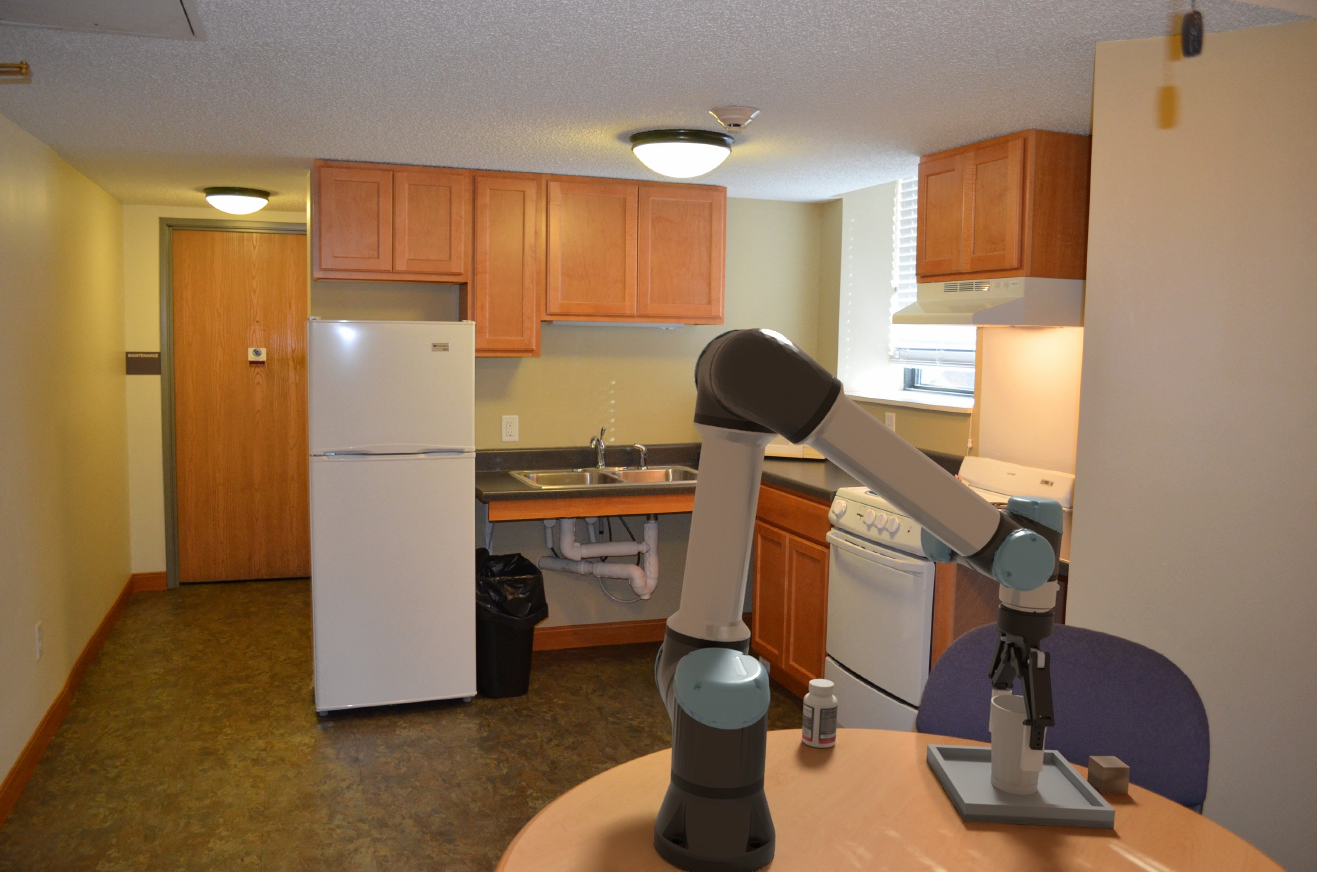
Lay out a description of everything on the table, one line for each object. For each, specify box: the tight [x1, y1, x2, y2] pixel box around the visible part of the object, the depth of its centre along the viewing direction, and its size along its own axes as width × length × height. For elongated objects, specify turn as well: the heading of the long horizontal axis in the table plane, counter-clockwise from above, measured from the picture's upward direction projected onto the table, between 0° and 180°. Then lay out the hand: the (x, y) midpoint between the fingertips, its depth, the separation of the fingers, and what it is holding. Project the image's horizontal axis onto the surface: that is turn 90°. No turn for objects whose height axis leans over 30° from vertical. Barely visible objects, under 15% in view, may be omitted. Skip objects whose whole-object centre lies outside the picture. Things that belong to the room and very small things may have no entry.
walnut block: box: [1086, 755, 1131, 794], centre depth 143 cm, size 4×4×4 cm
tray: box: [925, 743, 1116, 829], centre depth 140 cm, size 20×20×2 cm
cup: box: [990, 694, 1048, 795], centre depth 139 cm, size 8×8×12 cm
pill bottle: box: [801, 678, 839, 749], centre depth 155 cm, size 5×5×10 cm
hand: (1013, 750), depth 140 cm, fingers open, 13 cm apart
